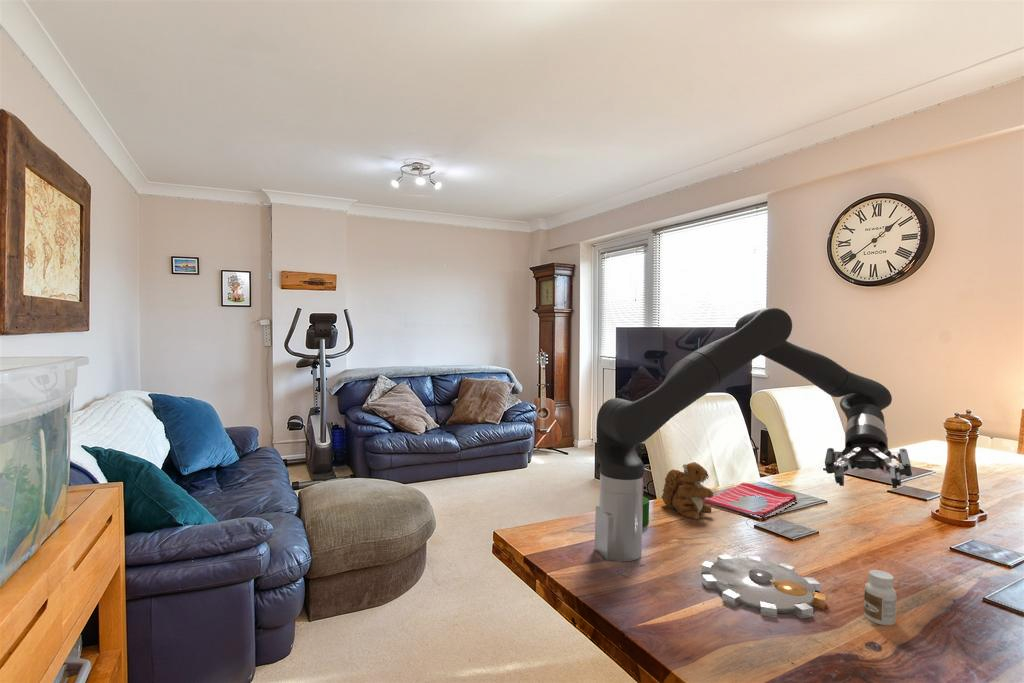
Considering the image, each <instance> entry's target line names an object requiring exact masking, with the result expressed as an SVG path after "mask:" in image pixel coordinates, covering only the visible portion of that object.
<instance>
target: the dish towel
mask: <svg viewBox="0 0 1024 683" xmlns="http://www.w3.org/2000/svg"><path fill="white" fill-rule="evenodd" d="M755 495H757V496H760V495H761V496H762V497H764V498H765V499H767V501H768V502H767V505H768V506H766V508H764V509H762V510H761V511H757V512H752V511H749V510H746V509H743V508H739V507H735V506H733V505H730V504H728V503H727V502H730V501H731V502H733V501H737V502H738V501H739V497H746V496H755ZM755 497H756V496H755ZM703 500H704V504H707V505H709V506H710V507H711V508H716V509H718V510H723V511H726V512H730V513H733V514H736V515H739V514H741V513H747V514H752V515H757V516H760V517H762V518H765V516H767V515H768V514H770V513H772V512H774V511H776V510H778V509H780V508H782V507H784V506H786V505H788V504H790V503H792V502H795V501H798V500H797V496H796V494H791V493H784V492H780V491H776V490H774V489H770V488H767V487H763V486H762V487H761V486H759V485H755V484H752V483H749V482H748V483H747V482H742V483H739V484H738V485H736V486H734V487H731V488H729V489H727V490H724V491H723V492H720V493H718V494H715V495H713V497H712V498H708V497H706V498H704V499H703ZM739 502H740V501H739ZM740 512H741V513H740ZM742 515H743V514H741V515H740V516H742ZM762 520H763V519H762ZM763 521H764V520H763Z"/></svg>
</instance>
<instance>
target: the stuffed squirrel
mask: <svg viewBox="0 0 1024 683" xmlns="http://www.w3.org/2000/svg"><path fill="white" fill-rule="evenodd" d="M682 468H683V471H680V470H677V469H674V468H672V469H671V470H669V471H668V472H667V473H666V477H665V478H664V486H663V489H662V492H663V493H662V495H661V497H660V498H661V499H662V501H663V504H664V505H665V506H666V507H667V508H669V509H675V510H676V511H677V512H678V513H679V514H680V515H682V516H683V517H686V518H689V519H692V520H699V519H700V513H701V512H704V513H705V512H711V511H712V506H709V505H707V504H704V500H705V499H707V498H712V497H713V496H714V492H713V490H711V488H708V487H706V486H704V485H702V484H704V483H705V481H707V480H708V479H709V478H710V476H709V474H708V471H707V469H706V468H704V467H703V466H702V465H701V464H700V463H697V462H695V461H693V462H690V463H687V464H686V463H685V464H683V465H682Z"/></svg>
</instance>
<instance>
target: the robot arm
mask: <svg viewBox="0 0 1024 683" xmlns="http://www.w3.org/2000/svg"><path fill="white" fill-rule="evenodd" d="M792 330H793V321H792V318H791V316H790V315H789V314H788V313H787V312H786V311H785V310H783V309H781V308H778V307H763V308H760V309H758V310H755V311H753V312H749V313H746V314H745V315H743V316H741V317H740V318H739V319H738V320H737V321H736V323H735V326H734V332H732V333H731V334H728V335H725V336H724V337H721V338H719V339H716V340H715V341H712V342H710V343H708V344H706V345H704V346H702V347H699V348H698V349H696V350H694V351H692V352H691V353H689V354H688V355H686V356H685V357H683V358H682V359H680V360H679V361H677V362H676V363H675V364H674V365H673V366H672V367H671V368H670V370H669V371H668V372H667V374H666V376H665V378H664V380H663V382H662V383H661V384H660V385H659V386H658V387H656V389H654V390H653V391H651V392H649V393H648V394H646V395H645V396H643V397H641V398H639V399H636V400H634V401H631V400H627V399H625V398H619V397H618V398H617V397H615V398H613V397H612V398H610V399H607V401H604V403H603V404H602V405H601V406H600V408H599V410H598V413H597V417H596V456H597V460H598V463H599V468H600V469H599V501H598V502H599V504H598V505H596V506H595V520H594V521H595V523H594V525H595V526H594V550H596V551H597V552H598V553H599V554H600V555H601V556H602V557H603V558H604V559H605V561H618V562H631V561H632V562H633V561H637V560H638V559H640V558H641V557H642V554H643V552H642V551H643V550H642V548H643V542H642V541H643V527H642V518H643V497H644V475H645V474H644V472H645V471H644V470H645V466H644V463H643V460H642V459H641V458H640V456H639V454H638V453H637V451H636V450H637V449H636V447H635V446H638V445H641V444H642V443H644V442H646V441H647V440H648V439H649V438H651V436H653V435H654V434H655V433H656V432H658V431H659V430H660V429H661V428H662V427H663V426H665V424H666V423H667V422H669V421H670V420H671V419H672V418H674V416H676V415H677V414H679V413H680V412H682V411H683V410H685V409H686V408H688V407H689V406H690V405H692V404H693V403H695V402H696V401H697V400H699V399H700V398H703V396H706V395H707V394H708V393H710V392H711V391H713V390H714V389H716V388H717V387H719V386H720V385H721V384H723V383H724V382H725V381H726V380H728V379H729V378H730V377H732V376H734V375H735V374H736V373H737V372H738V371H740V370H741V369H742V368H744V367H745V366H746V365H748V364H749V363H750V362H751V361H753V360H755V359H756V358H758V357H760V356H763V357H765V358H767V359H769V360H771V361H773V362H774V363H777V364H778V365H780V366H783V367H785V368H787V369H788V370H790V371H792V372H794V373H795V374H797V375H799V376H801V377H802V378H804V379H805V380H807V381H809V382H810V383H811V384H813V385H815V386H816V387H817V388H819V389H820V390H822V391H823V392H824V393H826V394H828V395H829V396H830V397H833V398H840V397H841V399H840V401H839V407H840V409H841V411H842V412H843V413H844V415H845V417H846V418H847V419H846V421H847V422H846V427H845V436H844V437H845V438H844V449H843V450H842V451H835V449H834V448H833V447H828V448H827V449H826V454H825V459H824V466H825V471H826V473H827V474H833V473H834V475H833V476H834V480H835V484H838V485H839V486H841V487H844V486H845V474H847V473H853V471H854V472H855V471H856V470H867V469H868V470H877V469H878V470H880V471H881V472H883V473H884V474H885V475H887V474H888V475H890V480H891V486H892V489H898V487H901V486H902V480H901V478H902V476H905V477H911V476H913V473H912V468H911V466H912V464H911V460H910V458H909V453H908V450H907V449H906V448H899V449H898V450H899V451H890V449H889V446H888V445H889V443H888V441H889V439H888V438H889V437H888V432H887V429H886V424H885V416H884V413H883V410H885V409H887V408H888V407H889V406H890V405H891V403H892V401H893V397H892V393H891V391H890V390H889V389H888V388H887V387H886V386H885V385H883V384H882V383H880V382H878V381H876V380H873V379H871V378H868V377H864V376H861V375H859V374H857V373H854V372H852V371H851V372H850V371H849V370H847V369H846V368H845V367H843V366H842V365H840V364H839V363H837V362H836V361H835V360H833V359H831V358H830V357H828V356H825V355H823V354H820V353H819V352H818V353H817V352H815V351H813V350H810V349H807V348H804V347H802V346H798V345H797V344H794V343H792V342H789V341H788V339H789V338H790V336H791V333H792ZM894 460H896V462H898V463H896V462H895V461H894Z"/></svg>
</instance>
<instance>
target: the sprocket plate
mask: <svg viewBox="0 0 1024 683" xmlns="http://www.w3.org/2000/svg"><path fill="white" fill-rule="evenodd" d="M700 571H701V573H702V575H701V576H702V578H701V579H702V580H701V582H702V583H701V584H703V586H704V587H705V588H706V589H707V590H716V591H717V592H718V593H720V594H721V595H722V596H721V601H723V602H724V603H726V604H728V605H731V606H733V607H737V606H738V605H741V606H744V607H747V608H751V609H754V610H759V613H760V616H764V617H769V618H774V619H777V616H778V614H794V615H795V616H797V617H799V618H800V619H806V618H812V617H814V607H816V606H817V607H816V608H820V609H823V610H824V609H825V608H826V604H827V594H823V593H821V583H820V582H819V581H818V580H817V579H815V577H807V576H805V577H804V576H803V575H801V574H800V573H798V572H796V567H794V566H792V565H789V564H787V563H785V562H781V563H779V564H777V563H775V562H774V563H773V562H769V561H766V560H762V558H761V557H760V556H757V555H750V554H747V556H746V557H732V556H730V555H728V554H723V555H722V554H720V555H717V558H716V561H715V562H710V561H707V560H705V561H704V562H703V563H702V564H701V570H700ZM815 591H820V592H815ZM813 605H814V606H813Z"/></svg>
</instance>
